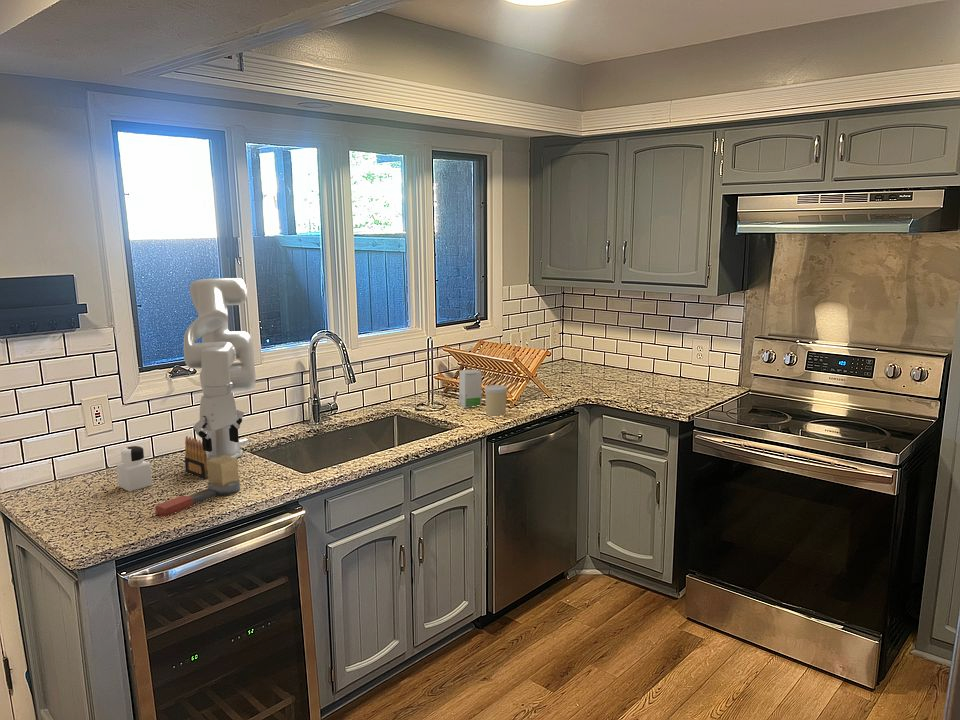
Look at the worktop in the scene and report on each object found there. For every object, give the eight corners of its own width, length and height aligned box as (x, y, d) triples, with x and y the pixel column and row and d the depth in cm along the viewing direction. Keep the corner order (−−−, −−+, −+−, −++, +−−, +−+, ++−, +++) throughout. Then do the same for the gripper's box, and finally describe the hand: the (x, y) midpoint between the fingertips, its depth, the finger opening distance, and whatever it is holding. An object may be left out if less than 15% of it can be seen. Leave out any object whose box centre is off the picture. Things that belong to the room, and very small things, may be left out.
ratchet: (225, 483, 221) (224, 463, 220) (246, 488, 217) (245, 469, 216) (150, 512, 199) (148, 491, 198) (171, 518, 195) (169, 497, 194)
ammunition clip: (185, 472, 231) (182, 436, 229) (190, 470, 232) (187, 434, 230) (204, 479, 225) (201, 442, 222) (210, 477, 226) (207, 440, 224)
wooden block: (225, 477, 219) (223, 455, 218) (238, 480, 216) (237, 458, 215) (208, 483, 214) (207, 460, 213) (222, 487, 211) (221, 464, 210)
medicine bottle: (141, 480, 224) (138, 442, 222) (152, 485, 219) (149, 447, 217) (118, 486, 218) (114, 448, 216) (129, 492, 214) (125, 453, 212)
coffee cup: (492, 411, 304) (493, 383, 302) (511, 415, 299) (511, 386, 297) (479, 416, 297) (479, 387, 294) (498, 420, 291) (498, 390, 289)
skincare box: (464, 409, 308) (464, 373, 305) (458, 405, 314) (458, 370, 311) (482, 406, 312) (482, 371, 309) (476, 403, 318) (476, 368, 315)
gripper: (231, 381, 219) (235, 436, 223) (183, 394, 204) (187, 452, 208) (249, 385, 215) (252, 440, 219) (201, 398, 201) (205, 457, 204)
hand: (221, 446), depth 213 cm, fingers open, 9 cm apart
